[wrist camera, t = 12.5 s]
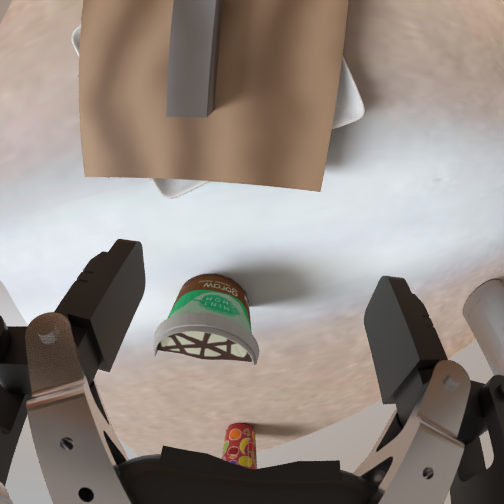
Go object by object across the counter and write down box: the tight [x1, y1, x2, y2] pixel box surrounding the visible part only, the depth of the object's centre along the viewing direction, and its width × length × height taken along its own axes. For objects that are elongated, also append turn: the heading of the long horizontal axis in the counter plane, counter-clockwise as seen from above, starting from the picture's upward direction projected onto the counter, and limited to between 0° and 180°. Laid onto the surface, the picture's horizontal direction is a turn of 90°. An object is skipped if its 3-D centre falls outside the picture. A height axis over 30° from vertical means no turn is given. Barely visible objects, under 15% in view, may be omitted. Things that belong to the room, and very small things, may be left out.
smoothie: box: [222, 423, 257, 469], centre depth 56 cm, size 8×8×20 cm
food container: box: [154, 274, 259, 369], centre depth 35 cm, size 12×6×10 cm, turn 83°
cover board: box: [79, 0, 349, 192], centre depth 20 cm, size 23×23×5 cm
